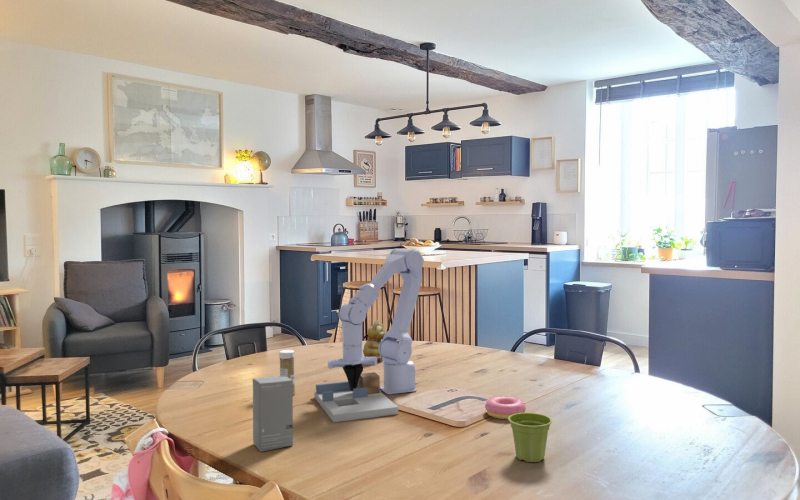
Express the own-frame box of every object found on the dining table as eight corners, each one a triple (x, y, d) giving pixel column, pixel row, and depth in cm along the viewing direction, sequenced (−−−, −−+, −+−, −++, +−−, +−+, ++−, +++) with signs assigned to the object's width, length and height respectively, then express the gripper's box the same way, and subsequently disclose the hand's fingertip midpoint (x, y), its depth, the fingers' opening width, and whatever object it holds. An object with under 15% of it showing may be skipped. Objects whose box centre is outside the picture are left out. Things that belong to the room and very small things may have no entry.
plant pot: (503, 450, 138) (503, 413, 138) (544, 448, 139) (544, 411, 139) (515, 466, 129) (514, 426, 129) (558, 464, 130) (558, 425, 130)
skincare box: (259, 452, 139) (258, 384, 138) (252, 442, 145) (250, 377, 144) (295, 446, 143) (294, 379, 142) (286, 436, 149) (285, 372, 148)
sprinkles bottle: (297, 395, 184) (296, 351, 183) (283, 397, 182) (282, 353, 181) (291, 391, 188) (290, 348, 187) (277, 394, 185) (276, 350, 185)
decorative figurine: (384, 363, 224) (384, 322, 223) (362, 363, 224) (361, 323, 223) (385, 357, 233) (385, 318, 233) (364, 357, 234) (363, 318, 233)
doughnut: (528, 410, 167) (528, 395, 167) (522, 423, 157) (522, 407, 157) (489, 407, 171) (489, 392, 171) (481, 419, 161) (481, 403, 161)
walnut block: (374, 388, 183) (374, 372, 183) (379, 393, 178) (379, 376, 178) (358, 390, 181) (358, 373, 181) (363, 394, 177) (363, 377, 176)
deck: (372, 391, 188) (371, 376, 187) (398, 414, 165) (398, 397, 165) (314, 397, 182) (314, 382, 181) (333, 422, 159) (333, 405, 159)
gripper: (331, 349, 171) (332, 396, 172) (380, 345, 176) (380, 391, 177) (325, 344, 178) (326, 390, 179) (372, 340, 183) (373, 385, 183)
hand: (353, 390), depth 178 cm, fingers closed
